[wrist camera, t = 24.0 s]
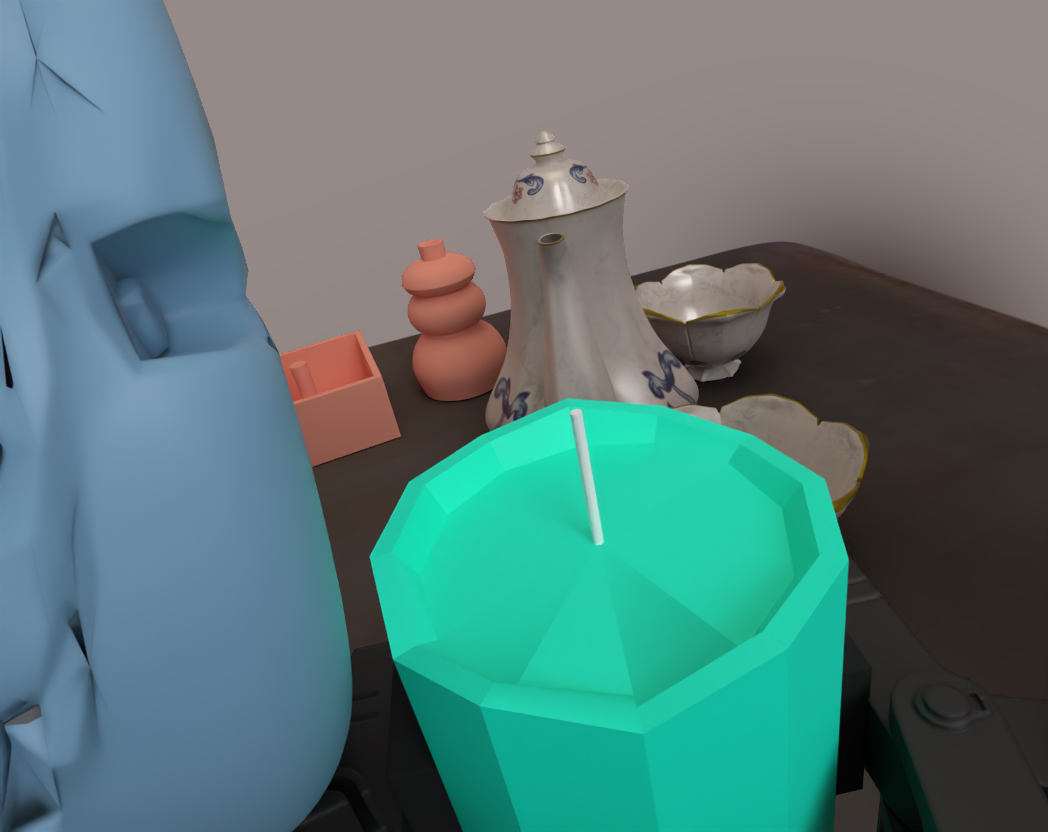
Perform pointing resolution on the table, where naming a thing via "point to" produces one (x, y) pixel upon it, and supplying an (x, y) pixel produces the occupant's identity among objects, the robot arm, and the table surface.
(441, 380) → the pottery
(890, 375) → the table surface
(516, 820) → the candle
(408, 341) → the table surface
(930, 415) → the table surface
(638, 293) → the chinaware
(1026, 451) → the table surface
